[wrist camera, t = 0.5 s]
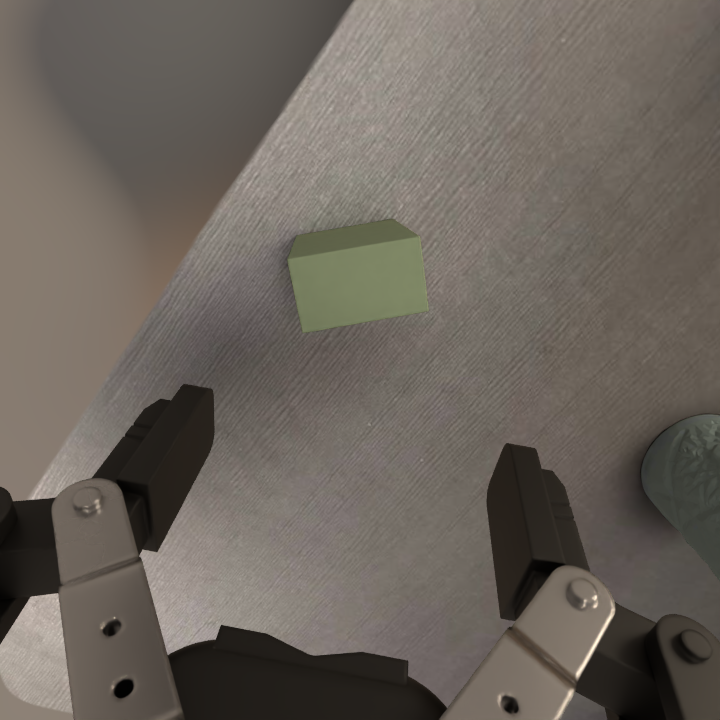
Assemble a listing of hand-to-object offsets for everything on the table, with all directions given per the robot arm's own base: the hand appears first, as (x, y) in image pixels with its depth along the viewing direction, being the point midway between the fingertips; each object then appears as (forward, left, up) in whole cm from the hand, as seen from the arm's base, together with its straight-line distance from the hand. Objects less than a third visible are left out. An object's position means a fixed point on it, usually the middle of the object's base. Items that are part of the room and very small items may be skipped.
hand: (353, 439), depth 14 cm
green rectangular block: (-1, +2, -19) cm, 20 cm away
